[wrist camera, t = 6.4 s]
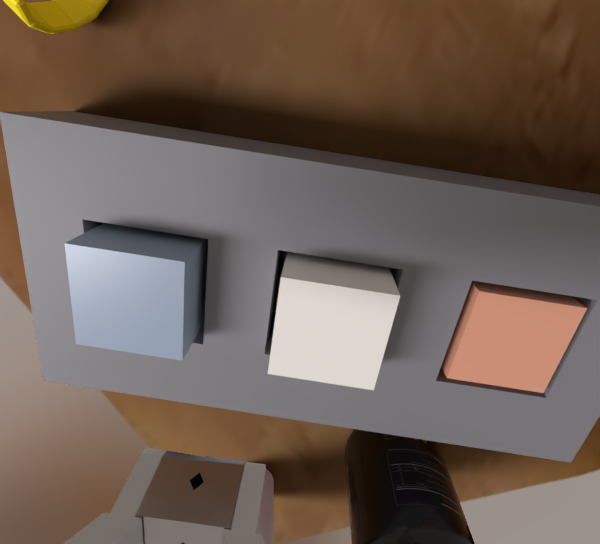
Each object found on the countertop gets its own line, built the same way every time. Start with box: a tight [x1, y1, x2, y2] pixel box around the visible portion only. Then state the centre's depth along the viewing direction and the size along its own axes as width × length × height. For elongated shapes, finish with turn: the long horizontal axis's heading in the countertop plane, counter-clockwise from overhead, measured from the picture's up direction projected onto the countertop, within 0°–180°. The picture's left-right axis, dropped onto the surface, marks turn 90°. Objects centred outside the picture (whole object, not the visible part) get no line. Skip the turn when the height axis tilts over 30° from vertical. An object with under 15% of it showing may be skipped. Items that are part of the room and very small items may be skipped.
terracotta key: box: [441, 281, 587, 393], centre depth 20 cm, size 5×5×4 cm
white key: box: [268, 252, 400, 390], centre depth 19 cm, size 5×5×4 cm
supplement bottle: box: [345, 429, 475, 544], centre depth 23 cm, size 7×7×12 cm
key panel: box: [0, 111, 600, 463], centre depth 21 cm, size 30×14×5 cm, turn 82°
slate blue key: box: [65, 223, 208, 361], centre depth 19 cm, size 5×5×4 cm
